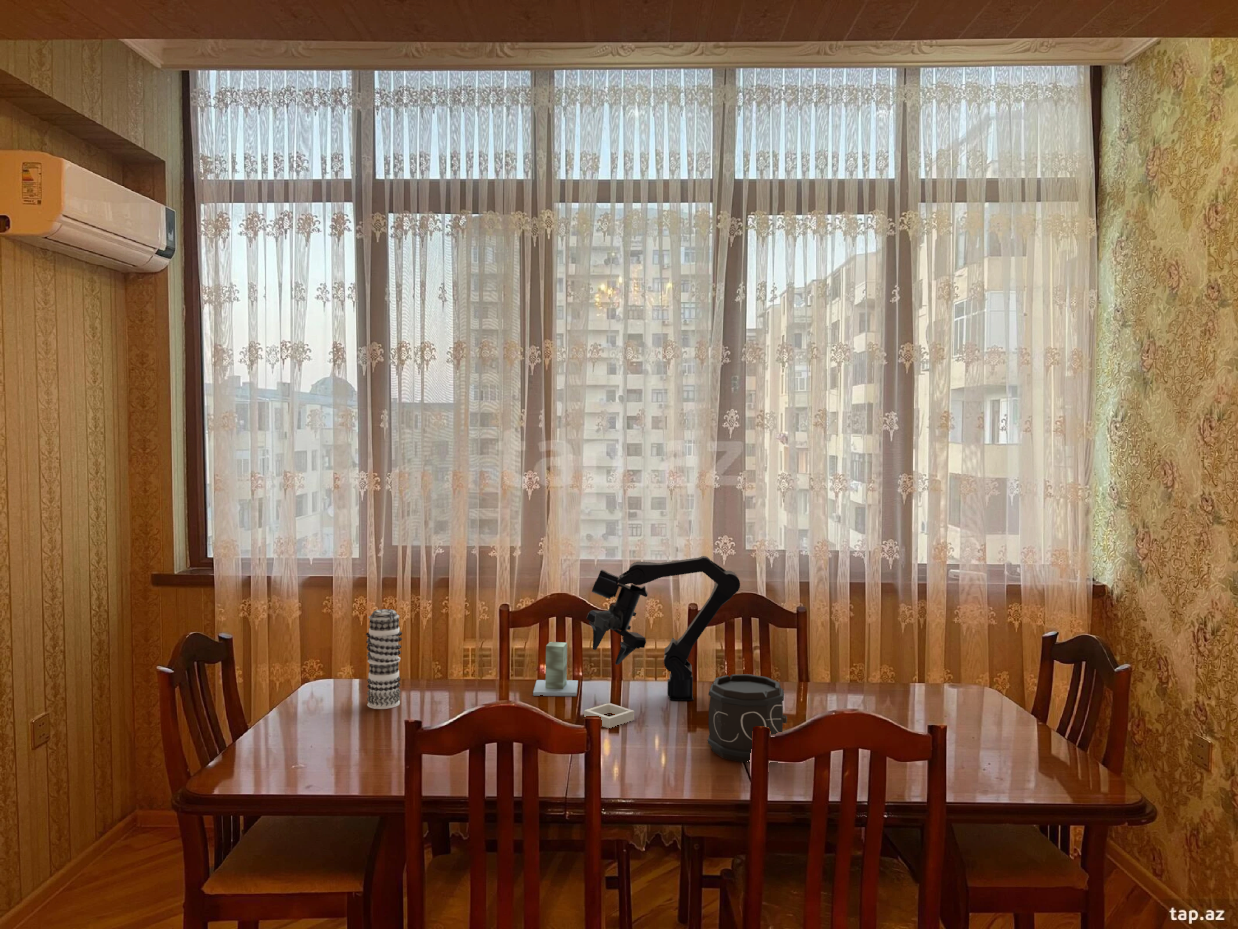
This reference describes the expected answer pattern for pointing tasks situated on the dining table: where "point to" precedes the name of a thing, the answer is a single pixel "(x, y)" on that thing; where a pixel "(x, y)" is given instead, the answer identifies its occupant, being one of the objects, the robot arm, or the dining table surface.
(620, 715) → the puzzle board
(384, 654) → the decorative candle
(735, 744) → the dark grey coffee canister
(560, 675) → the green block
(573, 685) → the slate pad
